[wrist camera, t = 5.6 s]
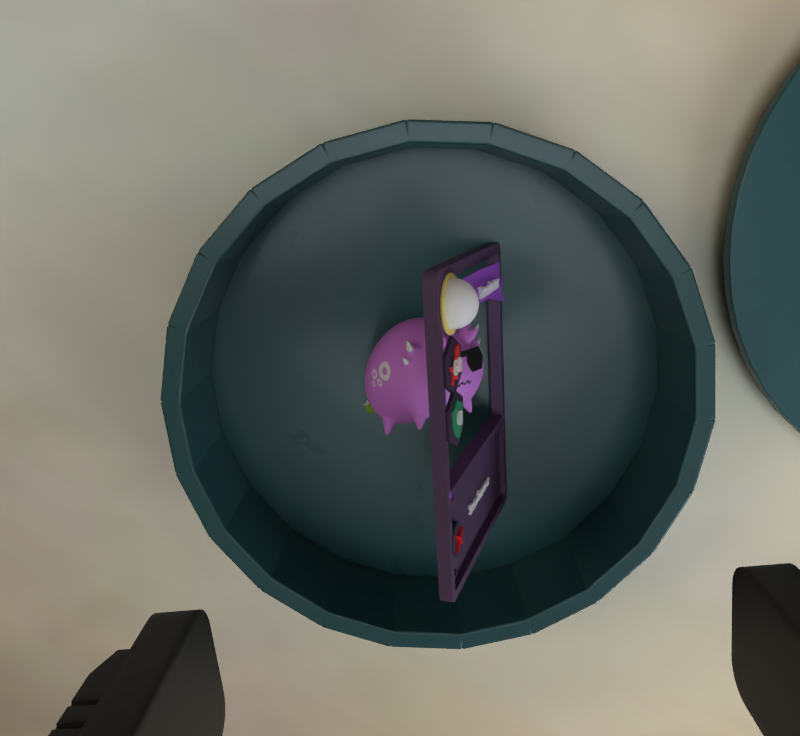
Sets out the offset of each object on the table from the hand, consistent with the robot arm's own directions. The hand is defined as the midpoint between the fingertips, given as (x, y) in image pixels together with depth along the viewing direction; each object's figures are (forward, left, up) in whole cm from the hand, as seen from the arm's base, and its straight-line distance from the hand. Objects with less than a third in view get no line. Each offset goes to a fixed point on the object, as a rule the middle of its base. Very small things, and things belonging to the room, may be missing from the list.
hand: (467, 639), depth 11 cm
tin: (0, 0, -14) cm, 14 cm away
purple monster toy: (0, 0, -14) cm, 14 cm away
